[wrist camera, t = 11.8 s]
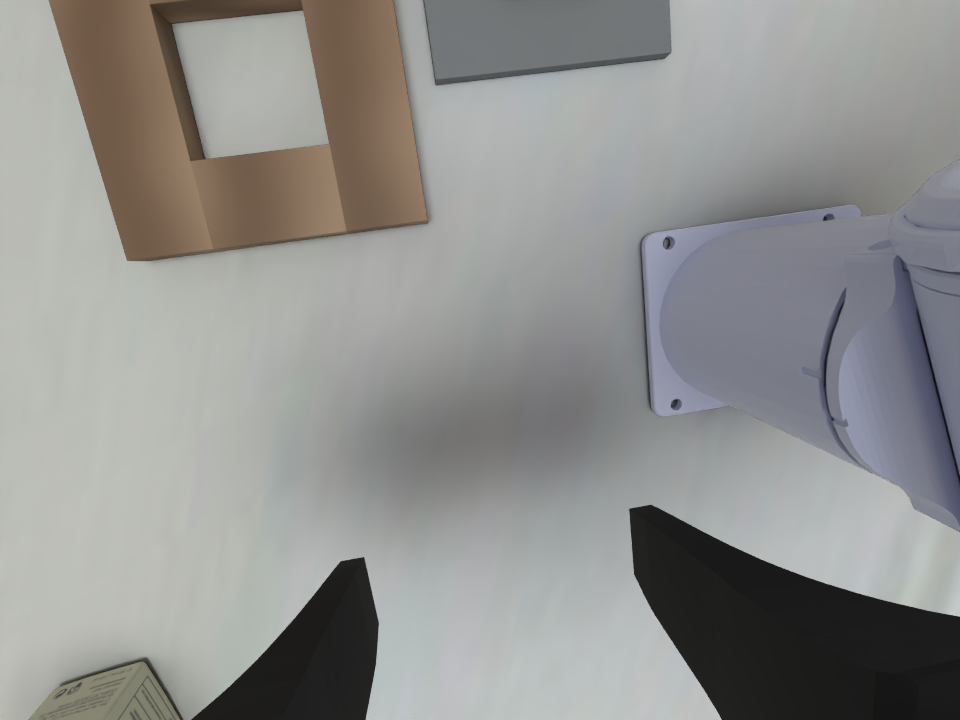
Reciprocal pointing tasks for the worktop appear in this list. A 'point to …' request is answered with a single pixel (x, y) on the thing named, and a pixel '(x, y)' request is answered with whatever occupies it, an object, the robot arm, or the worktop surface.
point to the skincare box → (109, 698)
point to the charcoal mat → (542, 35)
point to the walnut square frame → (250, 177)
